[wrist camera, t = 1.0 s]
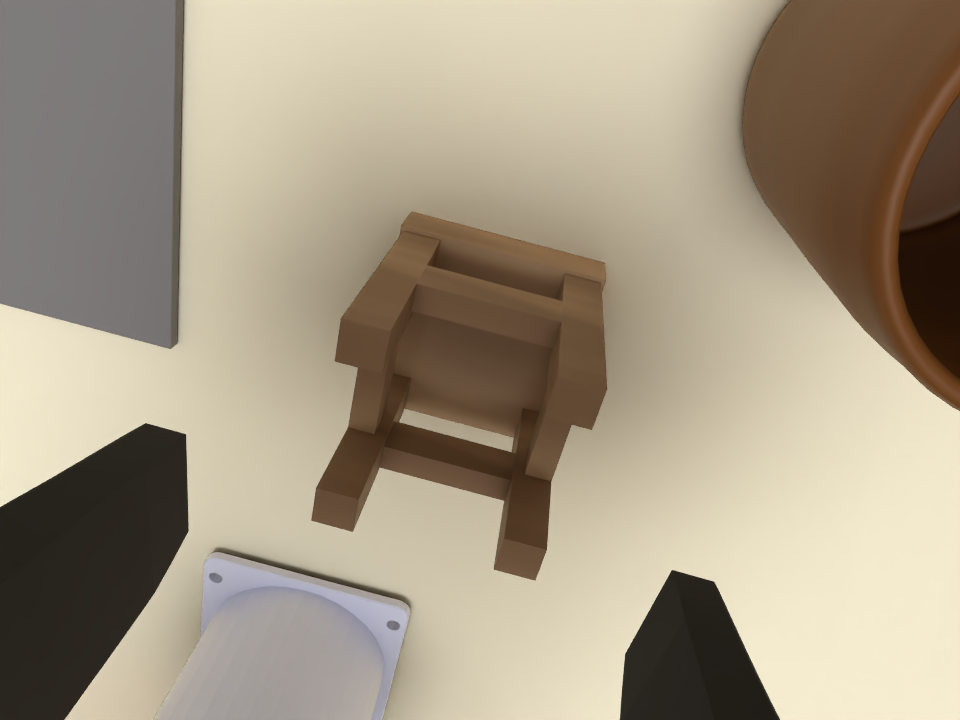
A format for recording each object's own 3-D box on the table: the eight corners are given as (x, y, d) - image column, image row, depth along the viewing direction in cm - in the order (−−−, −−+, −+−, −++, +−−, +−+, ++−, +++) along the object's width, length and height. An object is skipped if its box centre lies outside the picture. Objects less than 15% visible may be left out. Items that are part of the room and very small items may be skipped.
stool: (550, 421, 23) (537, 584, 17) (381, 376, 23) (306, 522, 17) (604, 261, 20) (613, 386, 14) (412, 210, 20) (336, 312, 14)
